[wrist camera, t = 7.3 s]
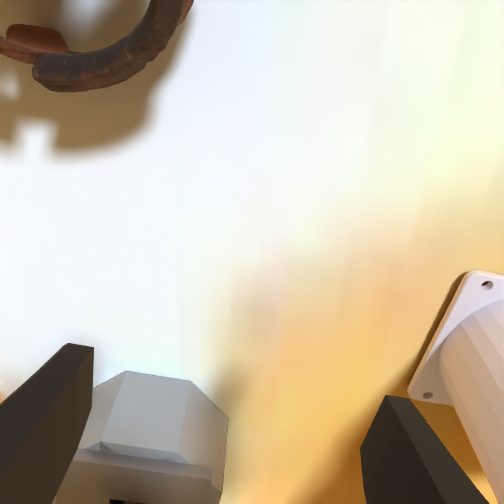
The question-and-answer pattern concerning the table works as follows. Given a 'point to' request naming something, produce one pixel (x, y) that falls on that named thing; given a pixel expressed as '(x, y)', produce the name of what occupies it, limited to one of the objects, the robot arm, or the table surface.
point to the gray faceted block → (148, 445)
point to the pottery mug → (97, 62)
